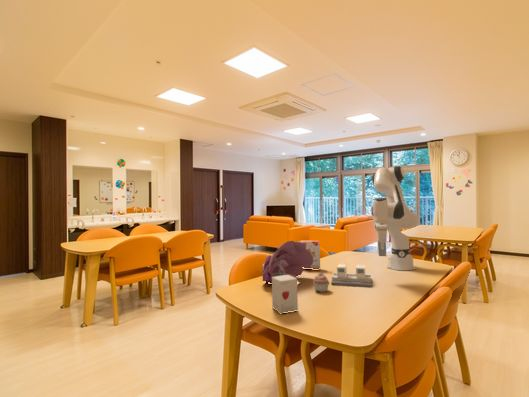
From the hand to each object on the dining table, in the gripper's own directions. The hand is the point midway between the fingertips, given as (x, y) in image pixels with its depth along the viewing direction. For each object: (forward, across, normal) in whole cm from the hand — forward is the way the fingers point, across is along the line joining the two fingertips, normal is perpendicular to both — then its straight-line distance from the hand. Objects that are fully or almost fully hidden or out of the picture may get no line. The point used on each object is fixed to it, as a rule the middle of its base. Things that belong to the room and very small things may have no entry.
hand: (382, 248), depth 171 cm
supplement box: (+20, +57, -45) cm, 75 cm away
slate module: (+4, 0, 0) cm, 4 cm away
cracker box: (+21, -23, -48) cm, 57 cm away
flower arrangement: (+20, +14, -57) cm, 62 cm away
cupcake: (+20, +25, -33) cm, 46 cm away
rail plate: (+20, +3, -18) cm, 27 cm away
